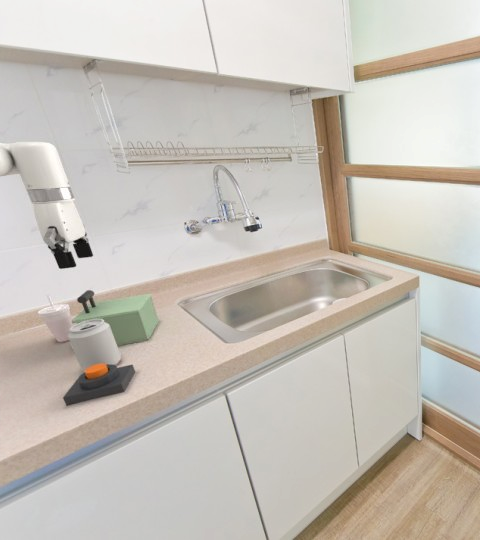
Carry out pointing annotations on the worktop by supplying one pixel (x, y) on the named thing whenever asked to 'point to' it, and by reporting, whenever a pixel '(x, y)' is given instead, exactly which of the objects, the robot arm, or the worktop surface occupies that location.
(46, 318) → the smoothie
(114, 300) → the lid
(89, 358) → the can
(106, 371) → the button
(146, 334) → the green hinged box
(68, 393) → the control block
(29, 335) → the worktop surface
